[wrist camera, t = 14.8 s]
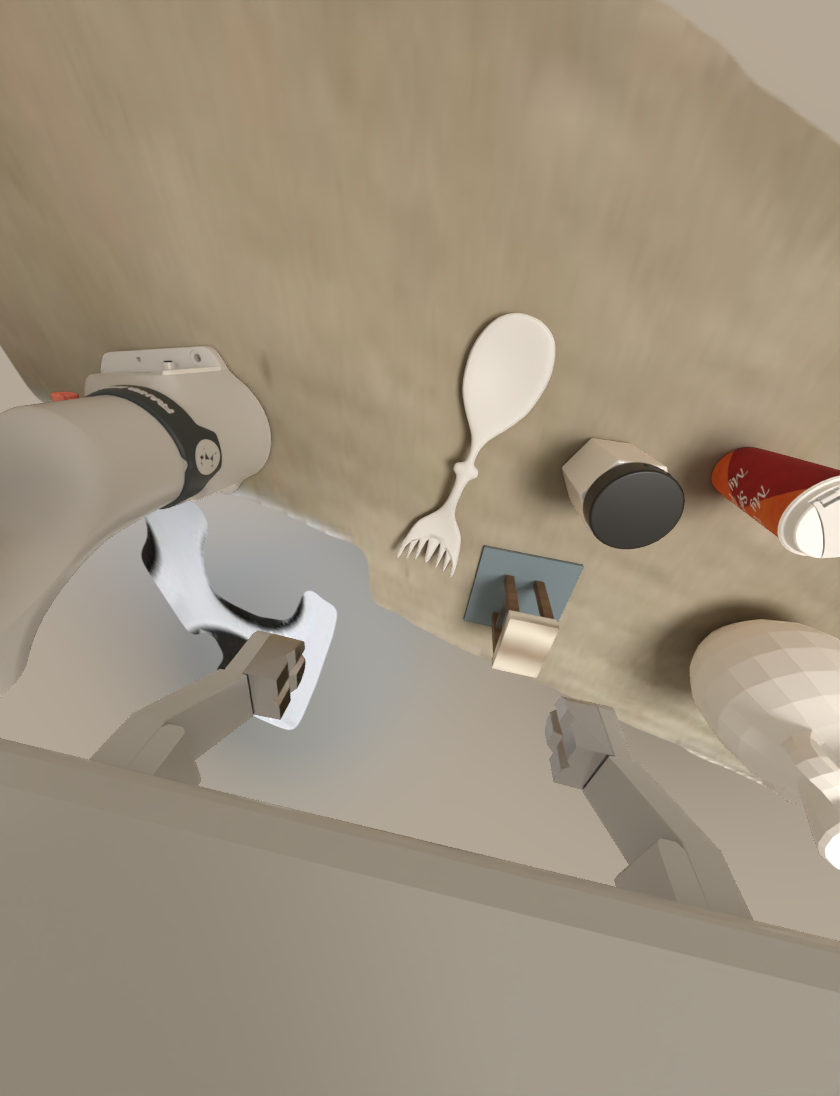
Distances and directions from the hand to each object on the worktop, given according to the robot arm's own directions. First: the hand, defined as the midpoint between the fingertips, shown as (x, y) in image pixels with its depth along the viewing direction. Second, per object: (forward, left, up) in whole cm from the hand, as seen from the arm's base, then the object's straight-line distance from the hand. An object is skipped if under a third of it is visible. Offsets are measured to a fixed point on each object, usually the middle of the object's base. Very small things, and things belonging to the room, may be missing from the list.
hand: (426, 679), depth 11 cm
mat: (+13, -22, -37) cm, 45 cm away
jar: (+17, -2, -37) cm, 41 cm away
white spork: (+1, -3, -38) cm, 38 cm away
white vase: (+46, -23, -37) cm, 64 cm away
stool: (+13, -23, -37) cm, 45 cm away
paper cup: (+32, +1, -37) cm, 49 cm away
